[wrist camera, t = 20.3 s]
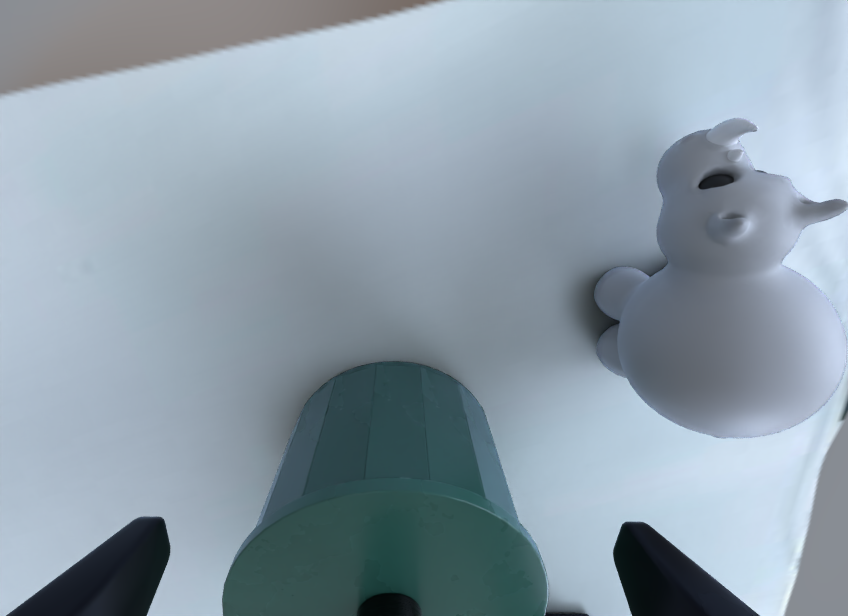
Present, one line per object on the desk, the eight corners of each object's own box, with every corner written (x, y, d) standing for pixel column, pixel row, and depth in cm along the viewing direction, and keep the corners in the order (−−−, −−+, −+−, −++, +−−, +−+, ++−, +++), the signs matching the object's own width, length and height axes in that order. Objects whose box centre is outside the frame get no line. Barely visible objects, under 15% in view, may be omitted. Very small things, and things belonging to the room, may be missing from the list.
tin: (476, 518, 26) (508, 675, 18) (298, 516, 25) (252, 680, 17) (502, 365, 22) (558, 484, 14) (289, 356, 21) (225, 478, 13)
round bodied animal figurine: (737, 109, 18) (1013, 79, 10) (709, 350, 22) (882, 464, 14) (574, 139, 18) (714, 132, 10) (579, 373, 22) (678, 498, 14)
